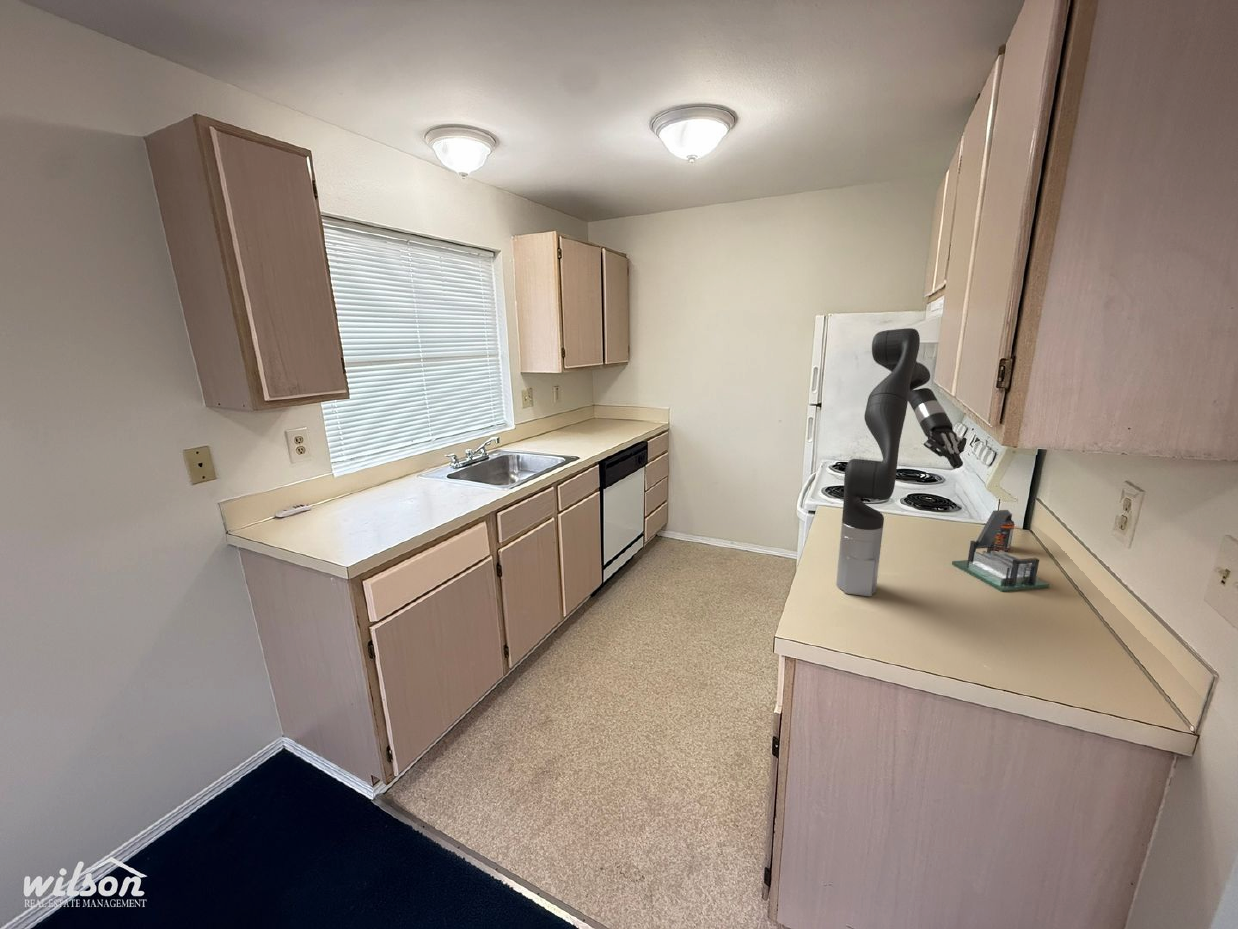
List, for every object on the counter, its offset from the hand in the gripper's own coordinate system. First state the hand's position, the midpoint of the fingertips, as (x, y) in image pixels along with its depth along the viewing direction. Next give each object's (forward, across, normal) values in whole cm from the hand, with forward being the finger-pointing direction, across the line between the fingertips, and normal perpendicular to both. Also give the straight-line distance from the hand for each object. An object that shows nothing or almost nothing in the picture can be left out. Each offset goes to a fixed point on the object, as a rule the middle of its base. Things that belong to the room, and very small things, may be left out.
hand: (958, 466), depth 142 cm
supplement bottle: (+19, +16, +17) cm, 30 cm away
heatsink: (+30, 0, +6) cm, 31 cm away
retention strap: (+22, 0, +6) cm, 23 cm away
